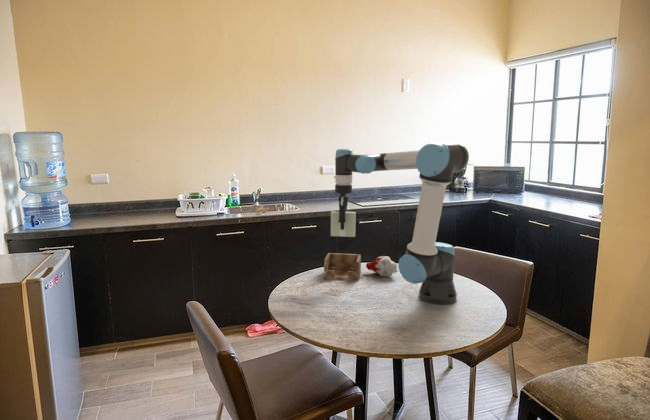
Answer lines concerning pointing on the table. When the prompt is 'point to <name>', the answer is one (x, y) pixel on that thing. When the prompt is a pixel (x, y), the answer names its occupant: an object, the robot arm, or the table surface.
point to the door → (350, 223)
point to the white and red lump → (382, 266)
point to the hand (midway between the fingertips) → (342, 235)
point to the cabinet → (342, 266)
